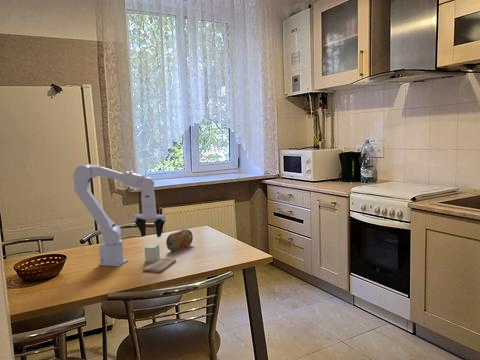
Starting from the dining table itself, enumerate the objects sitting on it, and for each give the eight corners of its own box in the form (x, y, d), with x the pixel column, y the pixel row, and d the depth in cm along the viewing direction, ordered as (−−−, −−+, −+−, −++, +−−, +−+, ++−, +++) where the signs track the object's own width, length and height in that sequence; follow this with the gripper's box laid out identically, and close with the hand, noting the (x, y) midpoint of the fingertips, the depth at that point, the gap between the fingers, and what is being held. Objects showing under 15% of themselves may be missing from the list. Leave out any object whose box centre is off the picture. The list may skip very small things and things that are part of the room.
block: (145, 261, 165) (144, 247, 164) (151, 257, 170) (149, 244, 169) (154, 261, 164) (153, 248, 163) (160, 258, 168) (159, 244, 167)
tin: (170, 253, 173) (169, 235, 172) (165, 252, 175) (164, 234, 174) (193, 244, 185) (192, 227, 184) (189, 243, 187) (187, 227, 186)
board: (142, 273, 153) (142, 269, 153) (159, 261, 165) (159, 258, 165) (160, 274, 150) (160, 270, 150) (176, 262, 163) (175, 259, 162)
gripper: (168, 203, 165) (170, 234, 167) (139, 202, 170) (142, 232, 171) (160, 207, 158) (162, 239, 160) (130, 206, 163) (132, 237, 165)
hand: (151, 236), depth 165 cm, fingers open, 7 cm apart
